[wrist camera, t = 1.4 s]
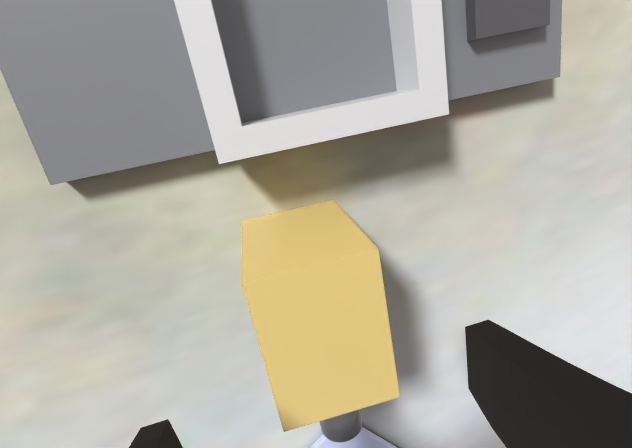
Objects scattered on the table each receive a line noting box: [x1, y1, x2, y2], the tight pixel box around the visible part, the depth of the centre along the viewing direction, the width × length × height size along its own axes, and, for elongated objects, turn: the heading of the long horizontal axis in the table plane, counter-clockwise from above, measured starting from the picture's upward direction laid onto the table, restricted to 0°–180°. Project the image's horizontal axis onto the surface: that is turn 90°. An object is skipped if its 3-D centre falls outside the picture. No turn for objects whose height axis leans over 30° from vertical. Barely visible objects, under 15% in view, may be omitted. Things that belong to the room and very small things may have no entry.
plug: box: [242, 200, 400, 442], centre depth 15 cm, size 4×8×6 cm, turn 11°
